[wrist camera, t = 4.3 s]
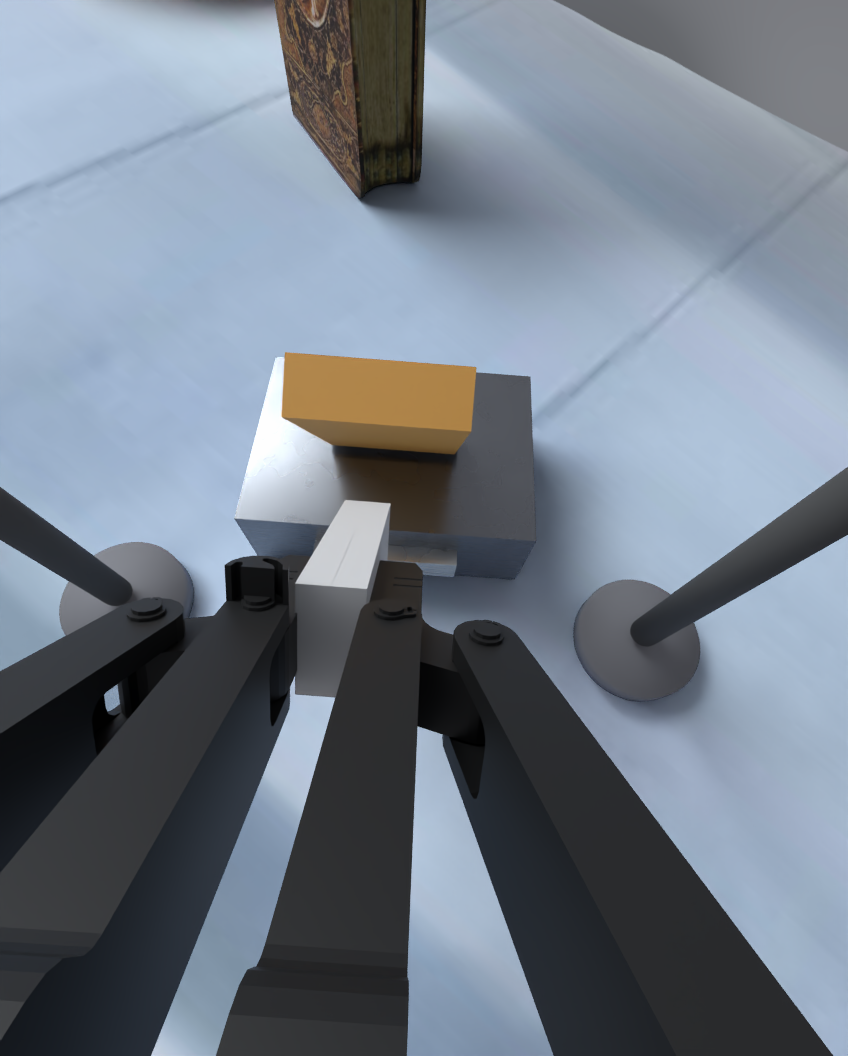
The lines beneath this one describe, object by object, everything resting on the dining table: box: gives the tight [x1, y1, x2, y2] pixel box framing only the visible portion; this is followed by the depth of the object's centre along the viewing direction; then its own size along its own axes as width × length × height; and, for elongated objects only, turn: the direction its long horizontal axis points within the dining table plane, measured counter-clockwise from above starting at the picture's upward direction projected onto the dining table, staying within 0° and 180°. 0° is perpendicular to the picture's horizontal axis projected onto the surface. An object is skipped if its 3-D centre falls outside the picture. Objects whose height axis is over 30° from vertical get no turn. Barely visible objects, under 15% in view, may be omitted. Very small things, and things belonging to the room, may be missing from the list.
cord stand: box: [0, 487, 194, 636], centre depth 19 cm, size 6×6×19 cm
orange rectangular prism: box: [281, 352, 476, 454], centre depth 21 cm, size 2×6×10 cm, turn 87°
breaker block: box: [234, 357, 536, 579], centre depth 28 cm, size 11×14×5 cm
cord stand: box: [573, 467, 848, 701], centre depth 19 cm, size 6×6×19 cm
